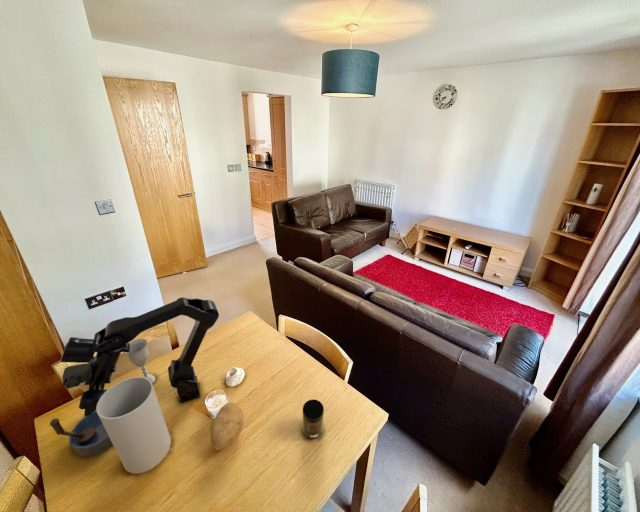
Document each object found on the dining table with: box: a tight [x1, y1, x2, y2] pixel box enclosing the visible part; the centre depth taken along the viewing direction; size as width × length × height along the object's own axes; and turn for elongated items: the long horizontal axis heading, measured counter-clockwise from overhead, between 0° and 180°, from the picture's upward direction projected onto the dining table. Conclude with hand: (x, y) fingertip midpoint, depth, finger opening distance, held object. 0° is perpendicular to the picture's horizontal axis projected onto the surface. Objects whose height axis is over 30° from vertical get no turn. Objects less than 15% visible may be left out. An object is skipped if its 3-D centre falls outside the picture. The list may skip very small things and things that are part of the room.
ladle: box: [49, 417, 96, 444], centre depth 82 cm, size 8×4×12 cm, turn 124°
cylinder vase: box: [96, 376, 172, 475], centre depth 78 cm, size 12×12×25 cm
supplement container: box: [302, 399, 325, 440], centre depth 88 cm, size 7×7×10 cm
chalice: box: [124, 338, 156, 384], centre depth 102 cm, size 7×7×18 cm
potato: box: [209, 402, 244, 451], centre depth 87 cm, size 10×14×8 cm
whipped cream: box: [225, 366, 246, 387], centre depth 106 cm, size 8×7×5 cm
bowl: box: [68, 410, 113, 457], centre depth 86 cm, size 13×13×4 cm
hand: (88, 403), depth 83 cm, fingers open, 9 cm apart
